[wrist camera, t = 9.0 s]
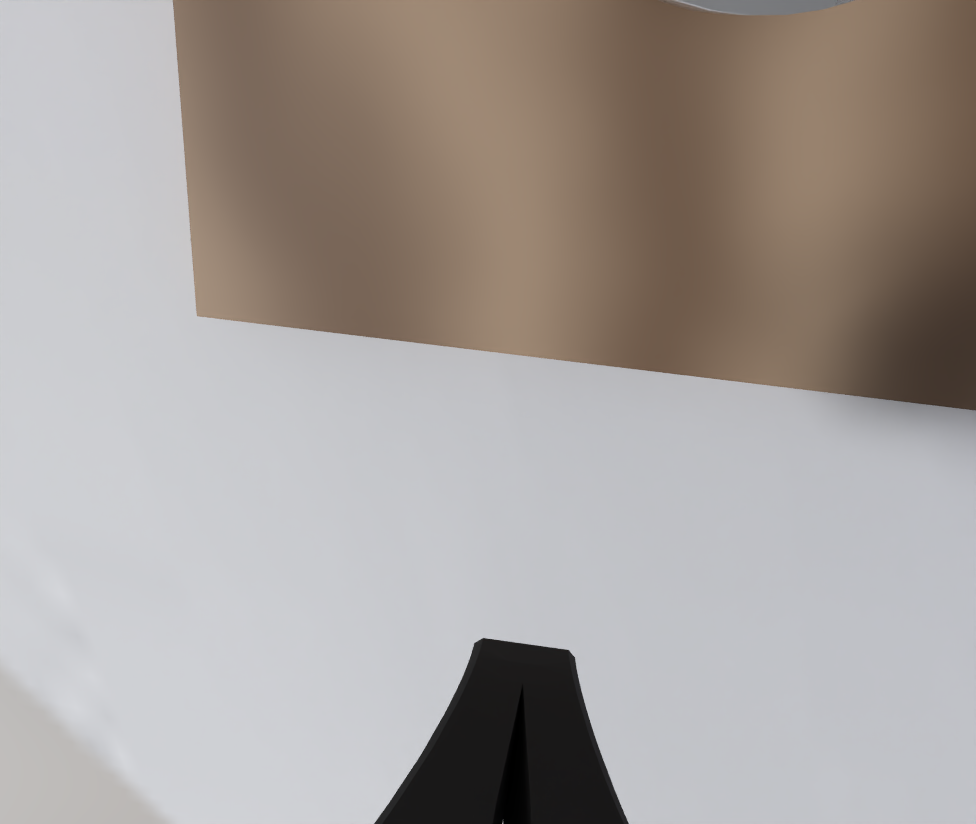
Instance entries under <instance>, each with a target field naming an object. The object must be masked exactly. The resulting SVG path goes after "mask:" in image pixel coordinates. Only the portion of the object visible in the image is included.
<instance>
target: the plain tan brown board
mask: <svg viewBox="0 0 976 824" xmlns="http://www.w3.org/2000/svg"><path fill="white" fill-rule="evenodd" d="M173 7H174V20H175V33H176V47H177V60H178V73H179V86H180V100H181V113H182V126H183V139H184V152H185V166H186V179H187V192H188V205H189V219H190V232H191V245H192V258H193V271H194V285H195V298H196V311H197V316H200V317H209V318H217V319H225V320H233V321H242V322H250V323H258V324H267V325H275V326H283V327H291V328H300V329H308V330H316V331H324V332H333V333H341V334H349V335H357V336H366V337H374V338H382V339H390V340H399V341H407V342H415V343H424V344H432V345H440V346H448V347H457V348H465V349H473V350H481V351H490V352H498V353H506V354H514V355H523V356H531V357H539V358H547V359H556V360H564V361H572V362H580V363H589V364H597V365H605V366H614V367H622V368H630V369H638V370H647V371H655V372H663V373H671V374H680V375H688V376H696V377H704V378H713V379H721V380H729V381H737V382H746V383H754V384H762V385H771V386H779V387H787V388H795V389H804V390H812V391H820V392H828V393H837V394H845V395H853V396H861V397H870V398H878V399H886V400H894V401H903V402H911V403H919V404H928V405H936V406H944V407H952V408H961V409H969V410H976V0H855V1H851V2H848V3H844V4H841V5H837V6H834V7H830V8H827V9H823V10H816V11H809V12H803V13H796V14H789V15H726V14H714V13H707V12H700V11H692V10H688V9H685V8H681V7H678V6H674V5H671V4H668V3H664V2H661V1H659V0H173Z"/></svg>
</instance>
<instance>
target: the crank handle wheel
mask: <svg viewBox="0 0 976 824" xmlns="http://www.w3.org/2000/svg"><path fill="white" fill-rule="evenodd" d="M659 1H661V2H664V3H668V4H671V5H674V6H678V7H681V8H685V9H688V10H692V11H700V12H707V13H714V14H726V15H789V14H796V13H803V12H809V11H816V10H823V9H827V8H830V7H834V6H837V5H841V4H844V3H848V2H851V1H855V0H659Z"/></svg>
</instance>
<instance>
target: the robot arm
mask: <svg viewBox="0 0 976 824" xmlns="http://www.w3.org/2000/svg"><path fill="white" fill-rule="evenodd" d="M502 823H503V824H629V823H628V821H627V819H626V816H625V814H624V812H623V809H622V807H621V805H620V802H619V800H618V797H617V795H616V792H615V790H614V787H613V785H612V782H611V779H610V777H609V774H608V771H607V769H606V766H605V763H604V761H603V758H602V755H601V753H600V750H599V747H598V744H597V741H596V738H595V736H594V733H593V729H592V726H591V723H590V720H589V716H588V713H587V710H586V707H585V703H584V699H583V695H582V692H581V688H580V683H579V679H578V674H577V669H576V663H575V657H574V656H573V655H572V654H571V653H570V651H569V650H564V649H557V648H550V647H543V646H536V645H529V644H521V643H514V642H507V641H500V640H493V639H486V638H483V639H481V640H479V641H477V642H476V643H474V647H473V650H472V654H471V657H470V660H469V663H468V665H467V668H466V670H465V673H464V675H463V677H462V680H461V682H460V684H459V686H458V688H457V690H456V692H455V694H454V696H453V698H452V700H451V702H450V704H449V706H448V708H447V710H446V712H445V714H444V716H443V717H442V719H441V721H440V723H439V724H438V726H437V728H436V730H435V731H434V733H433V735H432V737H431V739H430V740H429V742H428V744H427V746H426V747H425V749H424V751H423V752H422V754H421V756H420V757H419V759H418V760H417V762H416V763H415V765H414V766H413V768H412V769H411V771H410V772H409V774H408V775H407V777H406V778H405V780H404V781H403V783H402V784H401V786H400V787H399V789H398V791H397V792H396V794H395V795H394V797H393V798H392V800H391V801H390V803H389V804H388V805H387V807H386V808H385V810H384V811H383V812H382V814H381V815H380V816H379V818H378V819H377V821H376V822H375V823H374V824H502Z"/></svg>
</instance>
